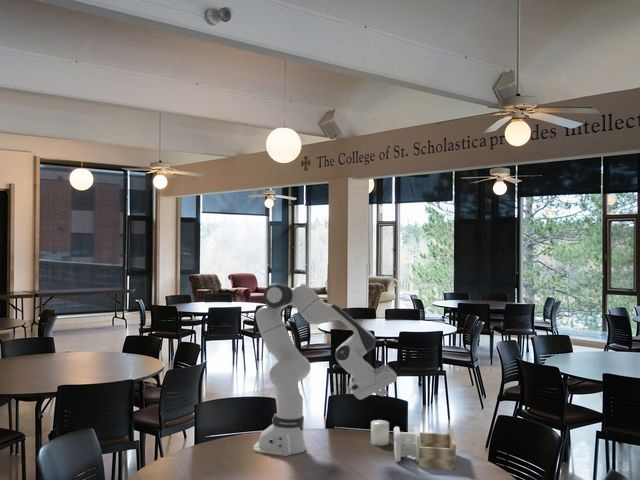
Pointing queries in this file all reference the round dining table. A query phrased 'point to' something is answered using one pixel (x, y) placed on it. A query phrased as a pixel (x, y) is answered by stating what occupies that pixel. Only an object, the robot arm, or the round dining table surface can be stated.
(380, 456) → the round dining table surface
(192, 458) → the round dining table surface
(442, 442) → the bracket
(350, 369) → the robot arm
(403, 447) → the cable organizer
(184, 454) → the round dining table surface
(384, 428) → the mug
